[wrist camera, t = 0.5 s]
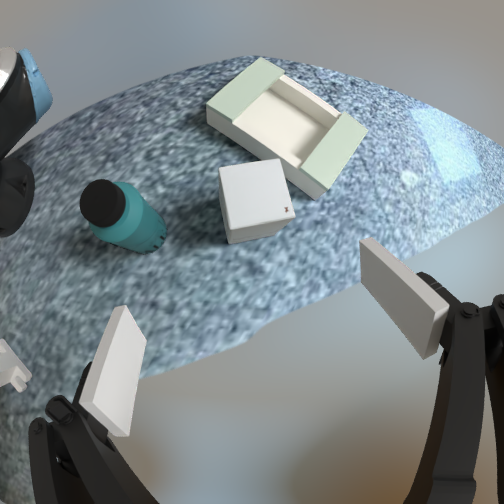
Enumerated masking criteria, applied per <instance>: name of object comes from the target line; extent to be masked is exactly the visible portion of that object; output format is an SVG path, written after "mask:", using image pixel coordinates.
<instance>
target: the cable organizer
mask: <svg viewBox="0 0 504 504" xmlns="http://www.w3.org/2000/svg"><path fill="white" fill-rule="evenodd" d="M31 377H32V374H31V372H30V371H29V370H28V369H27V368H26V367H25V365H24V364H23V363H22V362H21V361H20V359H19V358H18V357H17V356H16V354H15V353H14V352H13V351H12V349H11V348H10V347H9V345H8V344H7V343H6V341H5V340H4V339H3V338H2V339H0V387H1V386H3V385H5V384H7V383H9V382H11V384H12V385H13V386H14V387H15V388H16V390H17V391H18V392H22V391H24V390H25V389H26V388H27V385H26V384H25V383H24V382H27V381H29V380H30V379H31ZM23 381H24V382H23Z"/></svg>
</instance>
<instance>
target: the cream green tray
mask: <svg viewBox="0 0 504 504" xmlns="http://www.w3.org/2000/svg"><path fill="white" fill-rule="evenodd" d="M284 72H285V71H284V70H282V69H281V68H279V67H277V66H276V65H274V64H272V63H270V62H269V61H267V60H265V59H263V58H261V57H260V58H259V59H258V60H256V61H255V62H254V63H253V64H251V65H250V66H249V67H248V68H246V69H245V70H244V71H243V72H241V73H240V74H239V75H238V76H237V77H235V78H234V79H233V80H232V81H231V82H230V83H228V84H227V85H226V86H225V87H224V88H223V89H221V90H220V91H219V92H218V93H217V94H216V95H215V96H214V97H213V98H211V99H210V100H209V101H208V102H207V103H206V112H207V124H209V125H210V126H212V127H214V128H215V129H217V130H218V131H220V132H221V133H223V134H224V135H226V136H227V137H229V138H230V139H232V140H233V141H235V142H236V143H238V144H239V145H240V146H242V147H243V148H245V149H246V150H248V151H249V152H251V153H252V154H253V155H255V156H256V157H258V158H259V159H260V160H262V161H263V160H270V159H278V158H279V159H280V162H281V165H282V169H283V172H284V176H285V178H286V179H288V180H289V181H290V182H292V183H293V184H294V185H296V186H297V187H298V188H300V189H301V190H302V191H303V192H305V193H306V194H307V195H309V196H310V197H311V198H312V199H314V200H316V199H317V198H319V197H320V196H321V195H322V194H324V193H325V192H326V191H327V190H328V189H329V188H330V187H331V185H332V184H333V182H334V181H335V179H336V178H337V176H338V175H339V174H340V172H341V171H342V169H343V168H344V166H345V165H346V163H347V162H348V160H349V159H350V157H351V156H352V154H353V153H354V151H355V150H356V148H357V147H358V145H359V144H360V142H361V141H362V139H363V138H364V136H365V135H366V133H367V132H368V130H367V129H366V128H365V127H364V126H363V125H361V124H360V123H359V122H358V121H356V120H355V119H354V118H353V117H351V116H350V115H349V114H347V113H346V112H345V111H344V113H343V114H341V113H340V112H339V111H337V110H336V109H334V108H333V107H332V106H330V105H329V104H328V103H326V102H325V101H323V100H322V99H321V98H319V97H318V96H316V95H315V94H313V93H312V92H310V91H309V90H307V89H306V88H304V87H303V86H301V85H300V84H298V83H297V82H295V81H293V80H292V79H290V78H289V77H287V76H285V75H284Z"/></svg>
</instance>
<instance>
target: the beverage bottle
mask: <svg viewBox="0 0 504 504" xmlns="http://www.w3.org/2000/svg"><path fill="white" fill-rule="evenodd" d="M80 210H81V213H82V215H83V216H84V218H85V219H87V220H88V222H89V225H90V228H91V230H92V231H93V233H94V234H95V235H96V236H97V237H98V238H99V239H101V240H103V241H105V242H109V243H111V244H112V243H113V244H115V245H118V246H121V248H122V247H124V248H123V249H126V248H127V250H128V249H129V250H132V251H136V252H135V253H138V252H139V253H140V254H142V253H144V254H145V255H146V254H148V253H153V252H155V251H156V250H159V248H160V247H161V246H162V244H163V243H164V241H165V239H166V235H167V228H166V225H165V222H164V219H163V218H161V217H160V215H159V214H158V213H157V212H156V211H155V210H156V209H155V210H154V209H153V208H152V207H151V206H150V205H149V204H148V203H147V202H146V201H145V200H144V198H143V197H142V196H141V195H140V193H139V192H138V191H137V189H136V188H134V187H133V186H132V185H130V184H128V183H125V182H113V183H112V182H111V181H109V180H105V179H99V180H95V181H93V182H91V183H90V184H89V185H88V186H87V187H86V188H85V189H84V191H83V193H82V195H81V198H80ZM113 244H112V245H113ZM115 245H114V246H115ZM118 246H117V247H118ZM139 253H138V254H139ZM144 254H143V255H144Z"/></svg>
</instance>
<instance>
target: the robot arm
mask: <svg viewBox="0 0 504 504" xmlns="http://www.w3.org/2000/svg"><path fill="white" fill-rule="evenodd" d="M52 101H53V98H52V95H51V93H50V90H49V88H48V86H47V84H46V82H45V80H44V78H43V76H42V74H41V73H40V71H39V69H38V67H37V64H36V63H35V61H34V59H33V57H32V55H31V53H30V51H29V50H28V49H27V48H25V49H23V50H21V51H19V52H18V53H17V52H16V51H15V50H14V49H13V48H11V47H5V48H1V49H0V237H7V236H9V235H11V234H13V233H14V232H16V231H17V230H18V229H19V227H20V226H21V225H22V224H23V222H24V220H25V219H26V217H27V215H28V213H29V210H30V208H31V205H32V201H33V197H34V189H35V182H34V175H33V172H32V170H31V168H30V167H29V166H28V165H27V164H26V163H24V162H23V161H21V160H19V159H16V158H4V157H5V156H6V155H7V154H8V152H9V151H10V150H11V149H12V148H13V147H14V146H15V145H16V143H17V142H18V141H19V140H20V139H21V138H22V137H23V136H24V135H25V134H26V133H27V132H28V131H29V130H30V129H31V128H32V127H33V126H34V125H35V124H36V123H37V122H38V121H39V119H40V118H41V117H42V116H43V115H44V113H46V112H47V111H48V110H49V108H50V107H51V104H52ZM359 243H360V262H361V283H362V284H363V285H364V286H365V287H366V289H367V290H368V291H369V292H370V293H371V295H372V296H373V297H374V298H375V299H376V300H377V302H378V303H379V304H380V305H381V307H382V308H383V309H384V310H385V311H386V313H387V314H388V315H389V316H390V318H391V319H392V320H393V321H394V323H395V324H396V325H397V326H398V328H399V329H400V330H401V331H402V333H403V334H404V335H405V337H406V338H407V339H408V340H409V342H410V343H411V344H412V345H413V347H414V348H415V349H416V351H417V352H418V353H419V355H420V356H421V357H422V359H423V360H424V359H426V358H427V357H429V356H431V355H433V354H435V353H436V352H437V349H438V346H439V343H440V345H441V346H442V347H443V348H444V350H443V353H442V356H441V359H440V361H439V364H441V369H440V378H439V384H438V390H437V396H436V401H435V406H434V411H433V416H432V421H431V425H430V429H429V433H428V437H427V441H426V444H425V448H424V451H423V455H422V458H421V461H420V465H419V468H418V471H417V473H416V476H415V479H414V482H413V485H412V487H411V490H410V492H409V494H408V496H407V497H406V499H405V500H404V502H403V504H472V502H473V499H474V495H475V491H476V481H475V480H474V478H473V473H474V468H475V464H476V458H477V454H478V448H479V442H480V436H481V429H482V420H483V410H484V397H485V376H486V381H487V385H488V390H489V395H490V401H491V407H492V413H493V420H494V428H495V438H496V450H497V489H498V490H497V494H498V503H499V504H504V294H503V295H502V294H500V295H497V296H495V297H494V299H493V302H492V305H491V306H487V307H482V308H479V307H478V306H477V305H475V304H473V303H469V302H463V303H461V302H460V301H459V300H458V299H457V298H456V297H454V296H453V295H452V294H451V293H450V292H449V291H448V290H447V289H445V288H444V287H442V285H441V284H440V283H437V281H436V280H435V279H434V278H433V277H431V276H430V275H428V274H426V273H423V272H419V273H417V274H415V273H414V272H413V271H412V270H410V269H409V268H408V267H407V266H406V265H405V264H403V263H402V262H401V261H400V260H399V259H398V258H396V257H395V256H394V255H393V254H392V253H390V252H389V251H388V250H387V249H385V248H384V247H383V246H382V245H381V244H379V243H378V242H377V241H376V240H374V239H373V238H372V237H370V238H366V239H363V240H360V241H359ZM146 342H147V340H146V339H145V337H144V336H143V334H142V332H141V331H140V329H139V327H138V325H137V324H136V322H135V320H134V319H133V317H132V315H131V313H130V312H129V310H128V308H127V306H126V305H123V306H119V307H115V308H114V310H113V312H112V315H111V317H110V319H109V322H108V324H107V327H106V329H105V331H104V334H103V336H102V339H101V341H100V344H99V346H98V349H97V352H96V354H95V357H94V360H93V361H92V362H89V363H88V365H87V366H86V367H85V369H84V371H83V374H82V376H81V379H80V382H79V385H78V388H77V390H76V393H75V396H74V399H73V402H72V404H71V403H70V402H69V401H68V400H67V399H66V398H65V397H64V396H62V395H57V396H55V397H53V398H52V399H51V400H50V401H49V402H48V404H47V405H46V409H45V412H46V415H47V416H48V417H50V418H51V419H52V420H53V422H50V423H48V422H47V421H46V420H45V419H44V418H41V417H38V418H36V419H34V420H33V421H32V422H31V424H30V426H29V431H28V435H29V455H30V467H31V476H32V484H33V490H34V496H35V502H36V504H159V503H158V502H157V501H156V500H155V498H154V497H153V496H152V495H151V494H150V492H149V491H148V490H147V489H146V488H145V486H144V485H143V484H142V483H141V481H140V480H139V479H138V477H137V476H136V475H135V474H134V472H133V471H132V470H131V469H130V467H129V465H128V464H127V463H126V461H125V460H124V458H123V457H122V456H121V454H120V453H119V451H118V450H117V448H116V447H115V445H114V444H113V442H112V441H111V439H110V438H109V437H107V434H108V430H109V431H110V432H111V433H112V434H113V435H114V436H129V433H130V426H131V419H132V412H133V407H134V401H135V396H136V390H137V385H138V379H139V374H140V369H141V365H142V360H143V355H144V351H145V346H146ZM56 457H57V458H58V462H57V459H56Z"/></svg>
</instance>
